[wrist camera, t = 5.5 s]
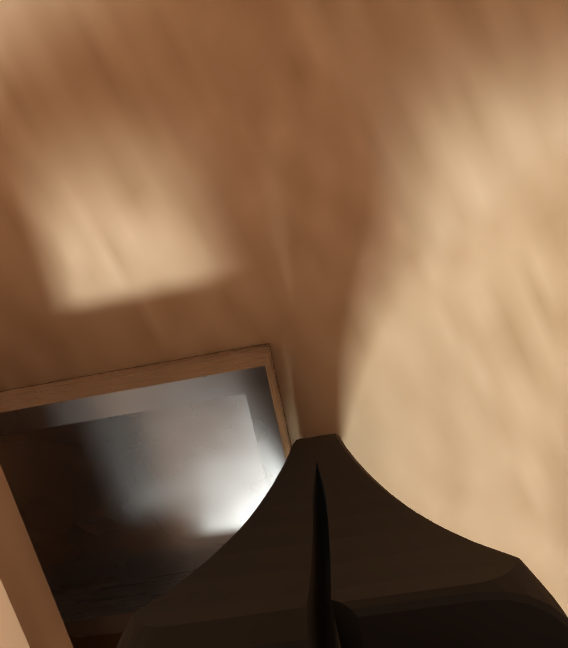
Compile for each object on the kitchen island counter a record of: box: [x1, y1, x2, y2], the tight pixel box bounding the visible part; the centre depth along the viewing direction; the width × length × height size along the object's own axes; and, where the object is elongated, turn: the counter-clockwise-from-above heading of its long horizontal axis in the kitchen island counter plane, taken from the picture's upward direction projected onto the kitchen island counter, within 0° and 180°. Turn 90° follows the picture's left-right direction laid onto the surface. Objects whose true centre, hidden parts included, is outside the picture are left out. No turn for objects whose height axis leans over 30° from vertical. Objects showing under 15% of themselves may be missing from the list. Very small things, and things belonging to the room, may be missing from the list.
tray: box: [0, 343, 291, 639], centre depth 12 cm, size 10×7×2 cm
